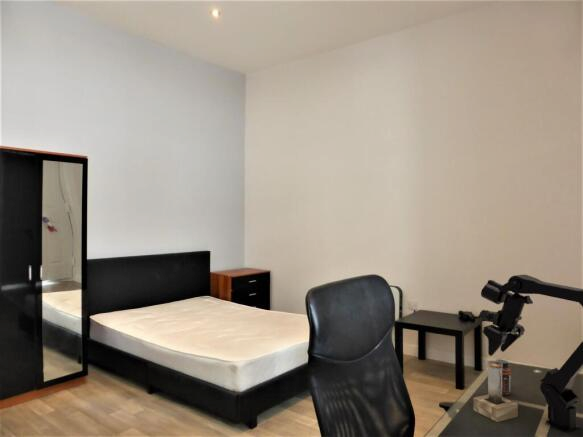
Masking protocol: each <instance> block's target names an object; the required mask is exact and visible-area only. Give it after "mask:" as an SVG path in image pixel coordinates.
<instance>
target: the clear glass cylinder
mask: <svg viewBox="0 0 583 437" xmlns="http://www.w3.org/2000/svg"><path fill="white" fill-rule="evenodd" d="M486 364H487V385H488V386H487V393H488V394H487V395H488V401H489V402H491V403H494V404H502V397H503V395H502V367H503V364H502V363H501V362H498V361H496V360H489V361H487V363H486Z"/></svg>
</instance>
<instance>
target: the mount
mask: <svg viewBox="0 0 583 437" xmlns="http://www.w3.org/2000/svg"><path fill="white" fill-rule="evenodd" d="M472 400H473V411H475V412H476V413H477V414H481V415H482V416H484V417H486V418H489V419H490V420H492V421H494V422H496V423H499V422H504V421H506V420H511V419H515V418H517V417H518V416H519V414H518V413H519V412H518V411H519V410H518V408H519V406H518V403H517V402H514V401H512V400H509V399H507V398H504V397H503V396H502V404H494V403H491V402H489V401H488V394H485V395H484V394H483V395H480V396H476V397H475V396H474V397H473V399H472Z"/></svg>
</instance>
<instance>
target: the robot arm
mask: <svg viewBox="0 0 583 437" xmlns="http://www.w3.org/2000/svg"><path fill="white" fill-rule="evenodd" d="M511 292H512V293H511ZM530 295H543V296H546V297H549V298H550V297H551V298H557V299H561V300H565V301H570V302H573V303H574V302H575V303H579V304H580V306H581V307H582V308H583V288H580V287H579V288H578V287H573V286H568V285H562V284H557V283H551V282H546V281H543V280H540V279H539V278H536V277H534V276H532V275H528V274H517V275H512V276H510V277H509V279H508V280H507V282H505V283H504V284H501V283H499V282H496V281H495V280H492V279H489V280H487V283H485V284H484V286H483V288H481V291H480V296H481V298H482V299H483V298H484V299H486V300H487V301H489V302H492V303H494V304H496V305H500V304H502V307H501V309H499V310H498V311H491V310H488V309H487V310H486V309H481V311H480V312H479V314H478V317H479V319H480V322H483V323H484V322H488V323H492V324H490V325H486V326H484V327H483V329H482V334H484V336H485V337H486V339H487V342H488V343H487V344H488V345H487V346H488V348H487V349H488V352H487V355H488V356H490V357H492V356H494V355H495V354H496V352H497V351H499V350H500V351H501V352H506V350H508V348H509V347H510V346H512V345H513V344H514V343H515V342H517V340H519V339H520V338H522V337H521V336H523V335H524V334H525V328H524V326H523V325H521V324H520V323H519V321H522V318H523V317H522V316H521V315H522V313H523V309H524V307H525V304H526V305H532V304H534V301H533V300H532V299H531V296H530ZM582 369H583V340H582V341H581V342H580V343H579V345H578V346H577V347H576V349H575V350H574V351H573V352H572V354H570V356H569V357H568V359H566V361H565V362H564V363H563V365H562V366H560V368H559V369H558V367H554V368H552V369H550V370H548V371H547V372H546V373H545V376H544V377H543V378H542V379H539V380H540V382H541V383H540V385H539V388H540V392H541V393H542V395H543V396H544V398H545V401H546V404H547V420H545V423H546V425H547V424H548V425H549V426H553V427H555V428H556V429H559V430H561V431H563V432H567V433H568V432H571V431H574V430H577V429H580V428H581V426H580V425H578V424H577V407H575V405H577V404H578V401H579V400H580V397H578V395H577V394H576V392H574V390H573V389H572V387H573V386H574V382H575V379H576V377H577V376H578V374H579V373H580V372H581V371H582Z"/></svg>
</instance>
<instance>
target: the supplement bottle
mask: <svg viewBox="0 0 583 437" xmlns="http://www.w3.org/2000/svg"><path fill="white" fill-rule="evenodd" d="M495 361H498V362H501V363H502V364H503V367H502V396H509V395H511V393H512V392H511V391H512V370H511V368H510V367H509V362H508V361H507V360H505V359H496V360H495Z"/></svg>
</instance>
